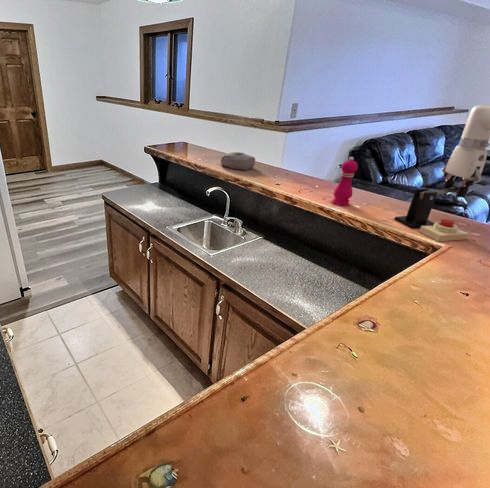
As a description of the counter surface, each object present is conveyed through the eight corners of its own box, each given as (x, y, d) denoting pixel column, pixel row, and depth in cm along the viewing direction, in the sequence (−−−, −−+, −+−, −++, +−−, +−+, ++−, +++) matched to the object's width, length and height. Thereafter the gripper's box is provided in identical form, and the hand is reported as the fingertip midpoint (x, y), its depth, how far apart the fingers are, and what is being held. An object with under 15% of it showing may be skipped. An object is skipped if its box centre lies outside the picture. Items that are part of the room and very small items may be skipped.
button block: (445, 230, 126) (450, 219, 124) (466, 239, 119) (470, 228, 117) (418, 231, 124) (422, 221, 123) (437, 241, 117) (442, 230, 116)
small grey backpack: (257, 167, 205) (228, 161, 217) (259, 153, 201) (230, 148, 214) (243, 172, 195) (214, 165, 207) (245, 157, 191) (215, 151, 204)
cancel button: (445, 223, 122) (447, 219, 121) (455, 227, 119) (457, 223, 118) (436, 224, 121) (438, 219, 121) (445, 228, 118) (447, 223, 117)
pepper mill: (337, 199, 155) (348, 154, 146) (353, 204, 149) (365, 157, 140) (327, 202, 151) (338, 156, 142) (343, 207, 146) (355, 159, 137)
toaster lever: (450, 189, 130) (452, 182, 129) (462, 193, 125) (464, 186, 124) (415, 197, 129) (416, 191, 128) (426, 201, 125) (427, 195, 124)
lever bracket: (417, 218, 136) (428, 186, 130) (436, 227, 128) (449, 194, 122) (394, 219, 135) (404, 187, 129) (412, 228, 127) (424, 195, 121)
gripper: (507, 148, 113) (484, 201, 121) (460, 139, 128) (442, 187, 136) (487, 148, 112) (465, 202, 120) (442, 139, 127) (425, 187, 135)
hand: (453, 193), depth 128 cm, fingers closed on toaster lever, 5 cm apart
